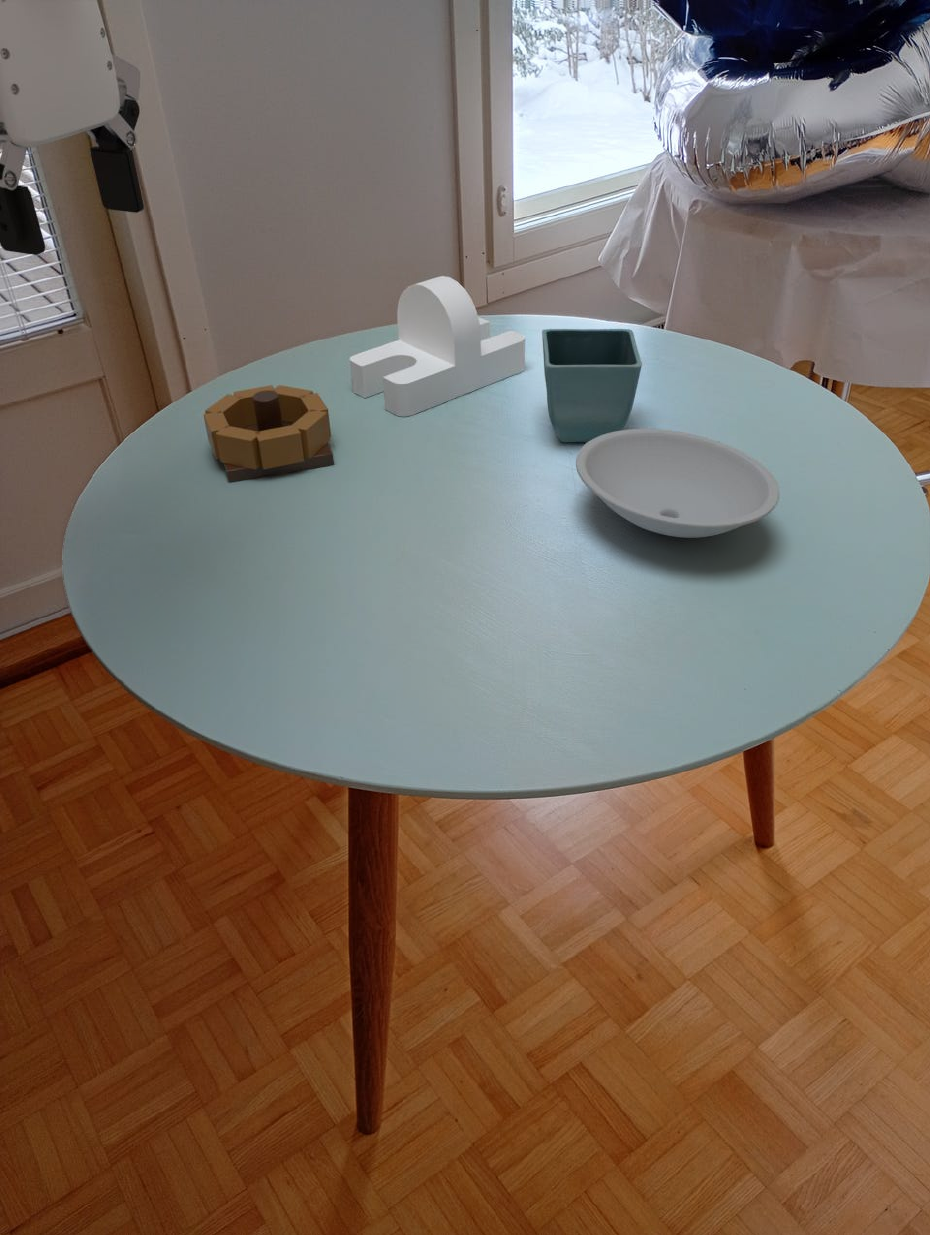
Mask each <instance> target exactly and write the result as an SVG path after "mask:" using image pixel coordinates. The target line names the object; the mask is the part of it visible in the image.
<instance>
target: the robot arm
mask: <svg viewBox="0 0 930 1235" xmlns="http://www.w3.org/2000/svg"><path fill="white" fill-rule="evenodd" d="M140 85H141V71H140V70H139V68H138V67H137V66H135V65H133V64H131V63H130V62H128V61H127V60H124V59H123V58H121V57H119V56H117V55H115V54H113V53H112V51H111V47H110V43H109V39H108V36H107V32H106V27H105V24H104V20H103V17H102V13H101V10H100V7H99V4H98V0H0V150H2V151H1V155H0V247H1V248H2V249H3V250H4V251H6V252H11V253H18V254H25V255H33V256H38V255H40V254H43V253H44V252H45V251H46V243H45V239H44V235H43V232H42V228H41V225H40V221H39V218H38V214H37V210H36V206H35V204H34V199H33V195H32V192H31V191H30V189H29V186H27V185H19V184H20V179H21V177H22V176H21V175H22V171H23V167H24V163H25V159H26V155H27V152H28V148H35V147H39V146H43V145H46V144H50V143H53V142H56V141H60V140H62V139H66V138H70V137H72V136H75V135H78V134H81V133H84V132H85V133H86V134H87V135H88V136H89V137H90V138H91V139H92V140H93V142H94V143H95V144H96V145H97V146H96V145H95V146H92V147H90V148H89V151H90V157H91V161H92V162H91V163H92V165H93V170H94V175H95V178H96V182H97V187H98V192H99V196H100V199H101V205H102V206H103V208H105V209H106V210H110V211H119V212H125V213H126V212H127V213H134V214H137V213H140V212H142V211H143V210H144V209H145V205H144V200H143V196H142V190H141V186H140V181H139V176H138V172H137V167H136V161H135V156H134V153H133V149H135V148H136V146H137V144H138V136H137V133H136V132H135V129H136V126H137V123H138V120H139V117H140V111H141V110H140V105H139V103H138V102H137V101H139V97H140V87H141V86H140Z"/></svg>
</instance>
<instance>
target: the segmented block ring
mask: <svg viewBox="0 0 930 1235" xmlns="http://www.w3.org/2000/svg"><path fill="white" fill-rule="evenodd" d="M268 390H269V391H275V392H277V393H278V396H279V403H280V410H281V417H282V421H285V422H290V423H294V424H293V425H291V426H285V427H280V428H275V429H270V430H265V431H260V432H257V431H252V430H247V429H243V428H244V427H245V426H249V425H254V424H257V421H256V415H255V409H254V402H253V395H254V394H256V393H257V392H260V391H268ZM203 421H204V425H205V430H206V434H207V440H208V443H209V446H210V449H211V450H212V453H213V455H214V458H215V460H220V463H221V464H222V463H223V464H224V463H226V464H231V465H236V466H241V467H246V468H250V469H255V470H256V469H257V468H258V467H260V466H262V468H263V469H269V468H273V467H278V466H283V465H288V464H293V463H298V462H303V461H304V457H305V458H311V457H313V456H314V455H315V454H316V453H317V452H318V451H319V450H320V449H321V448H323V447H324V446H325V445H326V444H327V443H328V444H329V442H330V441H331V438H332V432H331V422H330V414H329V408H328V407H327V406H326V404H325V402H324V401H323V399H322V398H321V397H320V395H319V393H318V392H315V393H314V392H313V390H310V389H305V388H300V387H299V388H298V387H292V386H287V385H282V384H278V385H277V386H275V387H274V386H273V384H271V385H265V386H260V387H253V388H247V389H243V390H238V391H233V394H229V393H228V394H226V395H225V396H223V397H222V398H221V399H219V400H217V401H216V402H215V403H213V404H212V405H211V406H209V407H208V408H207V409H205V410H204V414H203Z"/></svg>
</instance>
